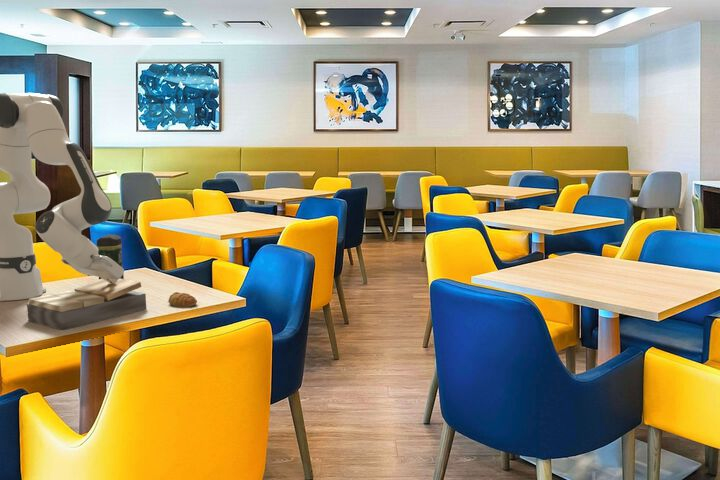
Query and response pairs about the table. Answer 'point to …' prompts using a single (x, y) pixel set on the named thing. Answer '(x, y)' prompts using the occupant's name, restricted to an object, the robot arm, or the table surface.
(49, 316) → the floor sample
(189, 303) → the pastry
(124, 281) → the plank
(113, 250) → the coffee jar
